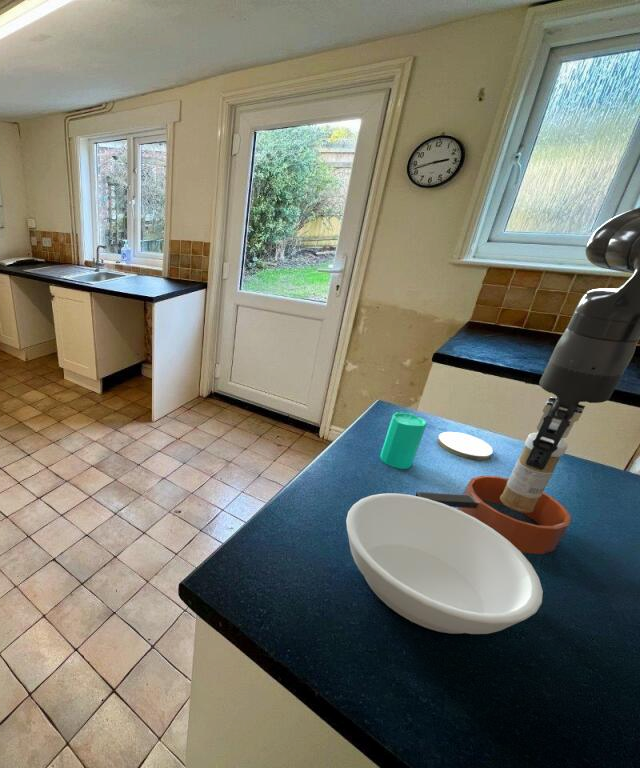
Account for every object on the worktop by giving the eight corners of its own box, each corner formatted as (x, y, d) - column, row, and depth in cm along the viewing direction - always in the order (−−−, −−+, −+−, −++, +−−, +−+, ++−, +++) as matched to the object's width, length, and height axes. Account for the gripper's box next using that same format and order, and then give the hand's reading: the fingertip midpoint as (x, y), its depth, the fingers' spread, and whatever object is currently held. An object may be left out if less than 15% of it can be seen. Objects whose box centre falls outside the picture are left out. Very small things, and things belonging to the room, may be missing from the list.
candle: (417, 470, 87) (434, 420, 82) (386, 467, 88) (402, 418, 83) (404, 453, 92) (420, 406, 87) (375, 451, 93) (389, 404, 88)
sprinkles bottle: (525, 499, 72) (559, 433, 67) (538, 516, 68) (575, 449, 63) (493, 493, 74) (524, 429, 68) (504, 510, 70) (537, 443, 64)
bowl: (338, 514, 75) (349, 477, 72) (494, 560, 66) (515, 520, 62) (329, 617, 57) (343, 574, 54) (542, 701, 48) (575, 657, 44)
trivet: (472, 436, 99) (474, 432, 98) (502, 461, 90) (504, 457, 89) (428, 434, 100) (429, 430, 99) (453, 458, 91) (455, 454, 90)
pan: (516, 501, 78) (528, 477, 76) (578, 557, 66) (594, 531, 64) (393, 493, 80) (401, 470, 78) (431, 546, 68) (442, 521, 66)
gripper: (619, 386, 53) (561, 491, 60) (628, 358, 61) (576, 454, 69) (541, 368, 58) (496, 467, 66) (559, 345, 67) (518, 435, 74)
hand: (537, 460), depth 67 cm, fingers closed on sprinkles bottle, 4 cm apart
